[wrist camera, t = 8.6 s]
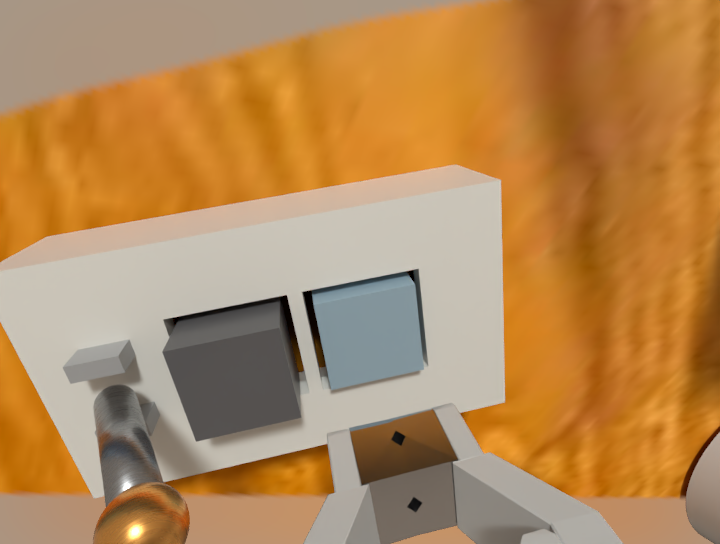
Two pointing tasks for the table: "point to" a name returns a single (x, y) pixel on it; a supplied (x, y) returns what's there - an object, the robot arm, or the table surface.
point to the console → (253, 283)
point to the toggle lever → (133, 477)
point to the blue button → (369, 329)
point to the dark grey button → (234, 368)
